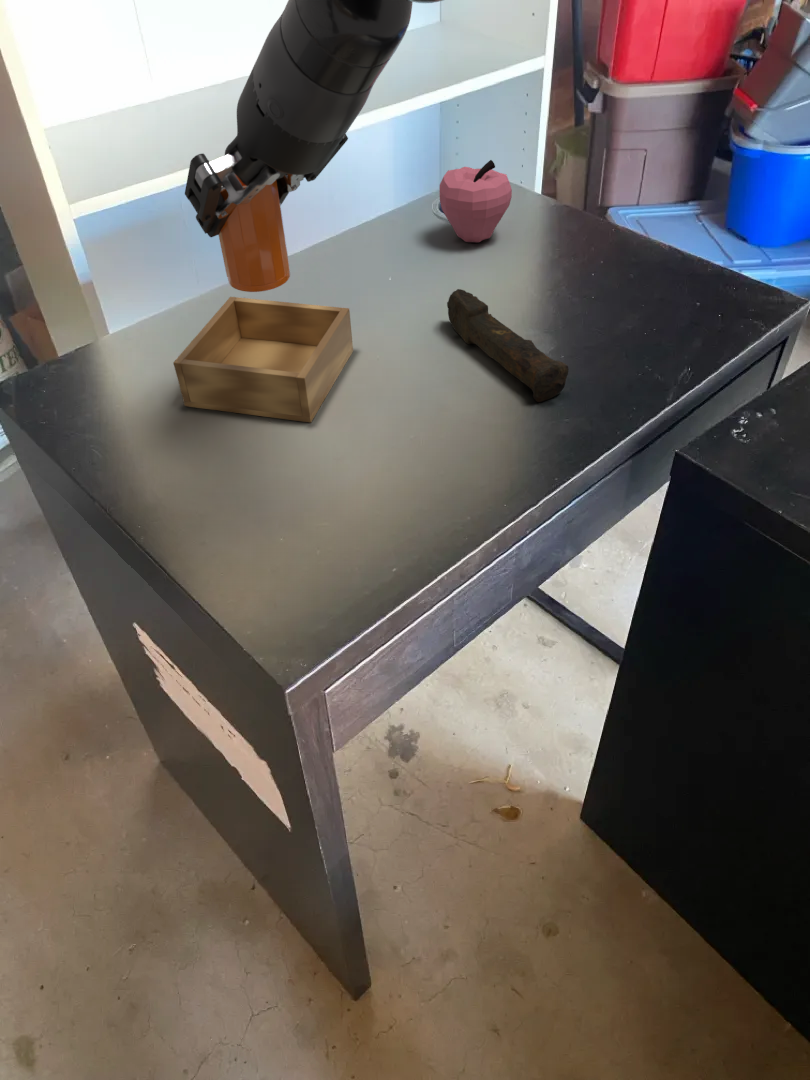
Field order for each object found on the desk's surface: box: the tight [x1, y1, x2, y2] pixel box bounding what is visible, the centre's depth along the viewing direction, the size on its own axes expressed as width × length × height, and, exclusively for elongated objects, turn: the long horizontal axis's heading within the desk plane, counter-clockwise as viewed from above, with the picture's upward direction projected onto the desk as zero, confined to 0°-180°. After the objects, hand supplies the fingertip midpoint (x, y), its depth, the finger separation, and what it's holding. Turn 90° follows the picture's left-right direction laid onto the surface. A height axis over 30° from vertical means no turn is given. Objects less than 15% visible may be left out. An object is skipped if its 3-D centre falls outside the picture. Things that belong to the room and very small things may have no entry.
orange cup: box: [218, 174, 291, 293], centre depth 72 cm, size 6×6×9 cm
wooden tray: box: [172, 296, 354, 423], centre depth 85 cm, size 14×14×5 cm
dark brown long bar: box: [446, 288, 569, 403], centre depth 86 cm, size 19×4×5 cm, turn 28°
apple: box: [439, 159, 513, 243], centre depth 106 cm, size 10×9×10 cm
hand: (237, 214), depth 72 cm, fingers closed on orange cup, 5 cm apart
